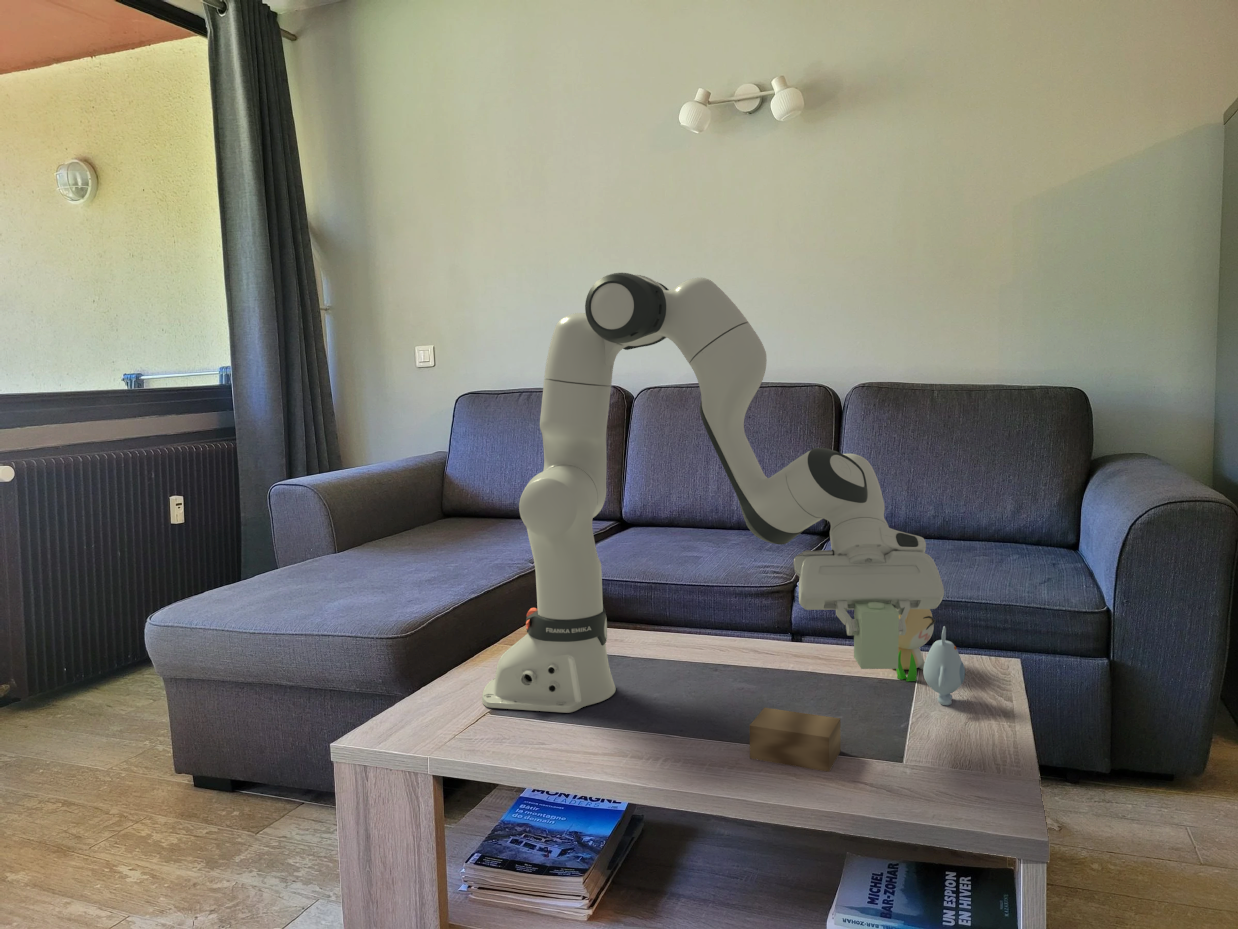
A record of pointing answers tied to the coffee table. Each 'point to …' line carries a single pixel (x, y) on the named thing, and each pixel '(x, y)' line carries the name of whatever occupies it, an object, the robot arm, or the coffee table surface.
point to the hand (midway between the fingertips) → (876, 633)
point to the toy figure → (944, 669)
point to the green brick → (876, 635)
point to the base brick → (795, 739)
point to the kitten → (914, 642)
